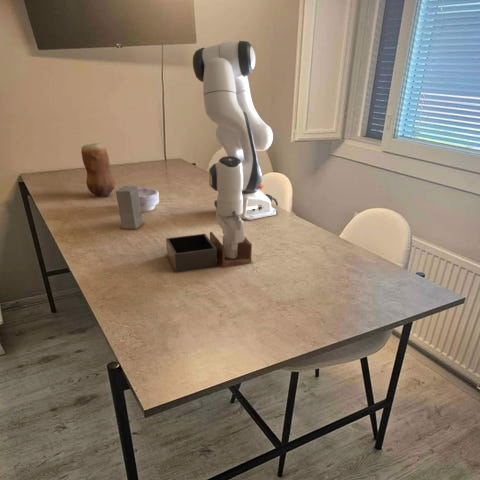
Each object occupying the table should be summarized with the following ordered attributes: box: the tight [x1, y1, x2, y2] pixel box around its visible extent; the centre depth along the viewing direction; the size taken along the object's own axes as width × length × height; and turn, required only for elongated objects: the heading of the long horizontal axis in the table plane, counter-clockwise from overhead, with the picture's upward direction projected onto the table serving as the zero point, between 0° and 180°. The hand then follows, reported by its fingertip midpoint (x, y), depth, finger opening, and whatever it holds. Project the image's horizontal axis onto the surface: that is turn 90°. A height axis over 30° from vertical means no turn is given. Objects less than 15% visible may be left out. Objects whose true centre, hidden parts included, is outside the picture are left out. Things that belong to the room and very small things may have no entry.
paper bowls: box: [138, 187, 160, 213], centre depth 196 cm, size 15×15×8 cm
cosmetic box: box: [115, 185, 144, 230], centre depth 176 cm, size 8×7×16 cm
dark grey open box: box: [165, 233, 218, 273], centre depth 151 cm, size 15×15×7 cm
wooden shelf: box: [209, 231, 253, 268], centre depth 154 cm, size 11×15×7 cm
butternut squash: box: [80, 142, 116, 198], centre depth 207 cm, size 14×13×25 cm
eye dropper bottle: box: [222, 234, 239, 260], centre depth 153 cm, size 4×6×12 cm
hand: (229, 244), depth 154 cm, fingers closed on eye dropper bottle, 5 cm apart
